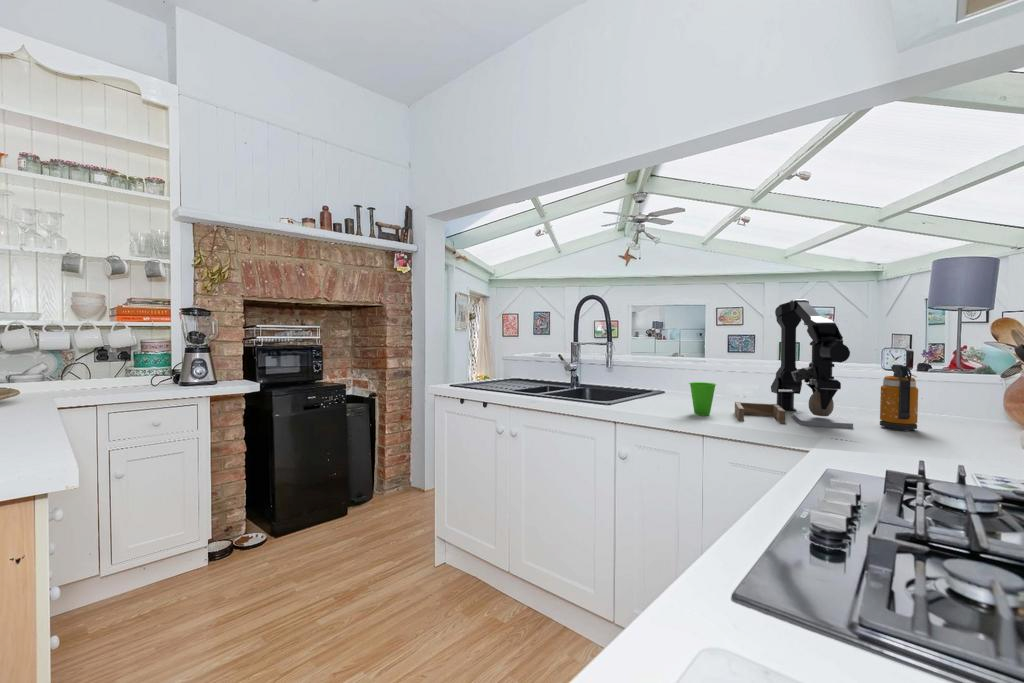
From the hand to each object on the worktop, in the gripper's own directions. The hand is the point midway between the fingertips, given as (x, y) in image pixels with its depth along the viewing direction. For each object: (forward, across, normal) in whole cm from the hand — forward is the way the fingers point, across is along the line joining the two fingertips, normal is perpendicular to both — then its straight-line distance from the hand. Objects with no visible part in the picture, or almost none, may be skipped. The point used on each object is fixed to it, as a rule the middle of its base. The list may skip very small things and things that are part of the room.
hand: (820, 407), depth 155 cm
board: (+5, 0, 0) cm, 5 cm away
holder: (+5, -1, -18) cm, 19 cm away
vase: (+3, 0, 0) cm, 3 cm away
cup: (+5, -2, -36) cm, 36 cm away
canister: (+5, +3, +20) cm, 21 cm away
